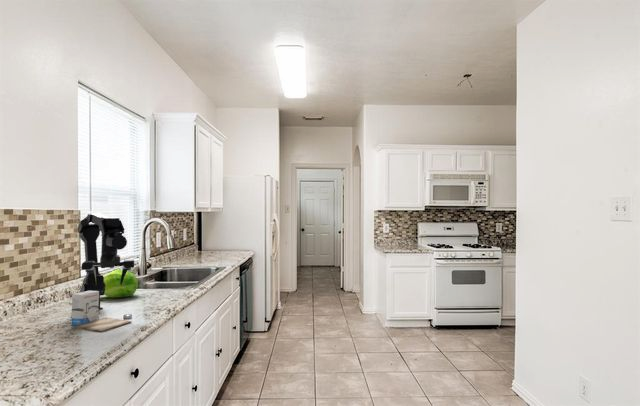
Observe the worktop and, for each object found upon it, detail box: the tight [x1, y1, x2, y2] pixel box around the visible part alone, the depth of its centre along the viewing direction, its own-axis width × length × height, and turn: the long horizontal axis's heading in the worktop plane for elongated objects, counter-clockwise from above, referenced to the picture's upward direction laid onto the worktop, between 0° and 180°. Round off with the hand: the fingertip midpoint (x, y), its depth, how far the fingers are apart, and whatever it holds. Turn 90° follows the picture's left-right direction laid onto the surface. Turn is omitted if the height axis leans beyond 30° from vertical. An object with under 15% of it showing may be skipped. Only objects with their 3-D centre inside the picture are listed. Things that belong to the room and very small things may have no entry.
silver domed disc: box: [122, 313, 133, 320], centre depth 154 cm, size 3×3×1 cm
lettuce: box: [103, 269, 139, 298], centre depth 192 cm, size 15×22×15 cm
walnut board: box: [74, 317, 132, 333], centre depth 144 cm, size 14×13×1 cm
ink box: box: [71, 291, 100, 326], centre depth 148 cm, size 9×5×12 cm, turn 167°
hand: (108, 285), depth 154 cm, fingers open, 9 cm apart
